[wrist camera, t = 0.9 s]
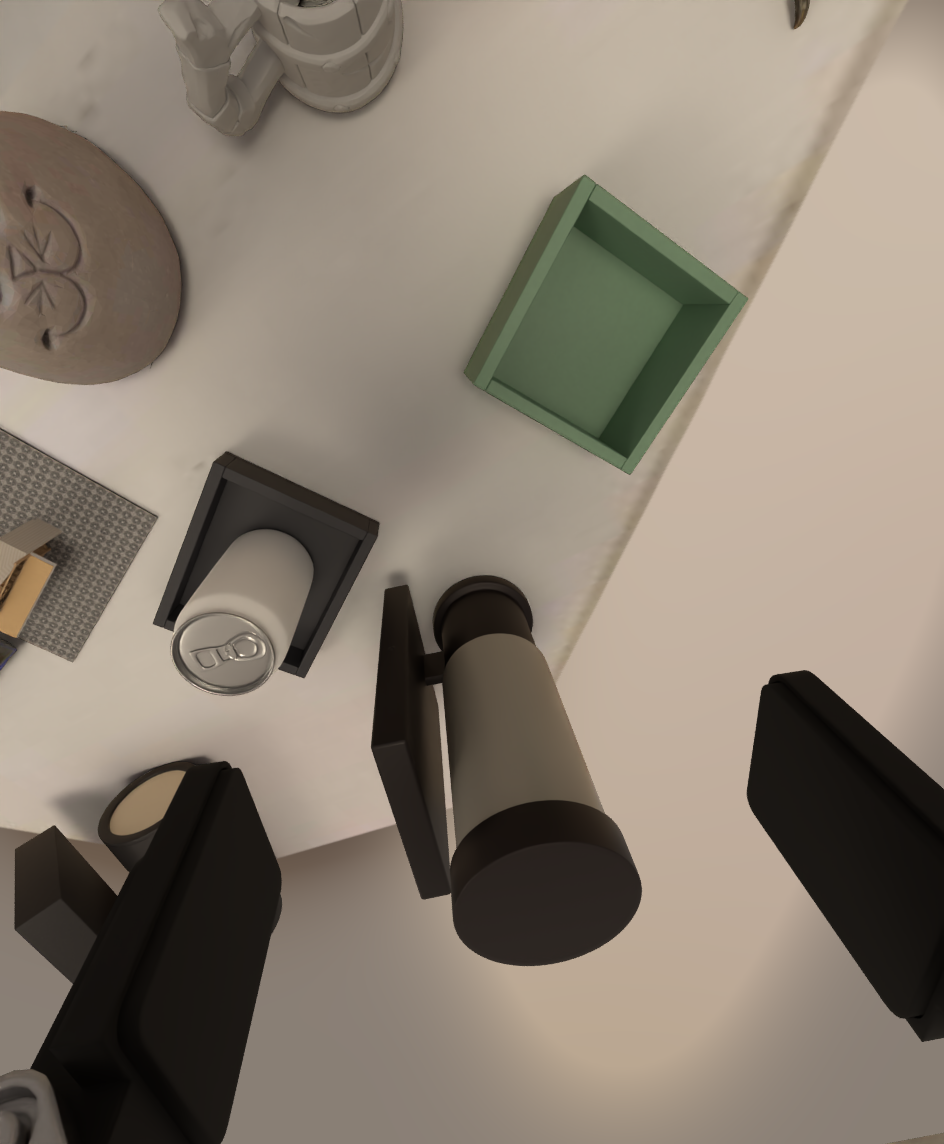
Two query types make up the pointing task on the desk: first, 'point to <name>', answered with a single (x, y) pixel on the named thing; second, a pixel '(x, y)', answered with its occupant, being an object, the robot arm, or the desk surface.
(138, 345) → the sculpture
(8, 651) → the decorative rock
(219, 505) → the tray
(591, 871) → the light fixture
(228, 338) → the desk surface
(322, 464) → the desk surface
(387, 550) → the desk surface
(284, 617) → the can
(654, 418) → the bin
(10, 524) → the gray miniature diorama
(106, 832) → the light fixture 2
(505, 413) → the desk surface
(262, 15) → the mug
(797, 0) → the olive forked rod
